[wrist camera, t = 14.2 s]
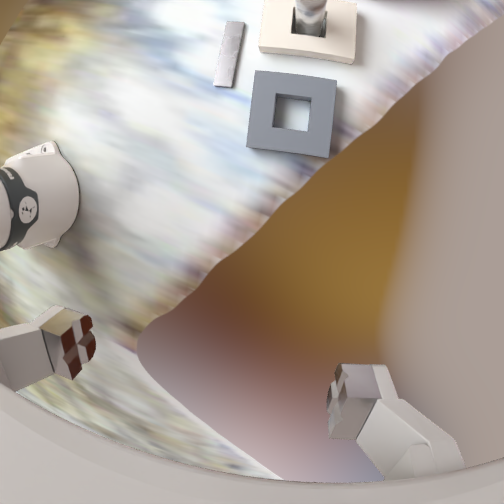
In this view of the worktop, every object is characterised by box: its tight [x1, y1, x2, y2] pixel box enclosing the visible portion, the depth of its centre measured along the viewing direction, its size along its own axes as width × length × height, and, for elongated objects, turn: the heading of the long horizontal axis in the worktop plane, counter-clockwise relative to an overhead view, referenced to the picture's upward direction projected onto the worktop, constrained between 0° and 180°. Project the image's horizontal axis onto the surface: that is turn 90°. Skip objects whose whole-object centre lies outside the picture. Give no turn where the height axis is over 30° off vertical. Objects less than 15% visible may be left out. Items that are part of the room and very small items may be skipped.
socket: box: [246, 70, 337, 158], centre depth 35 cm, size 10×10×2 cm
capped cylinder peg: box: [295, 0, 327, 37], centre depth 25 cm, size 3×3×15 cm
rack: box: [258, 0, 357, 64], centre depth 31 cm, size 12×9×2 cm
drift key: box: [213, 21, 245, 88], centre depth 34 cm, size 10×2×1 cm, turn 170°
